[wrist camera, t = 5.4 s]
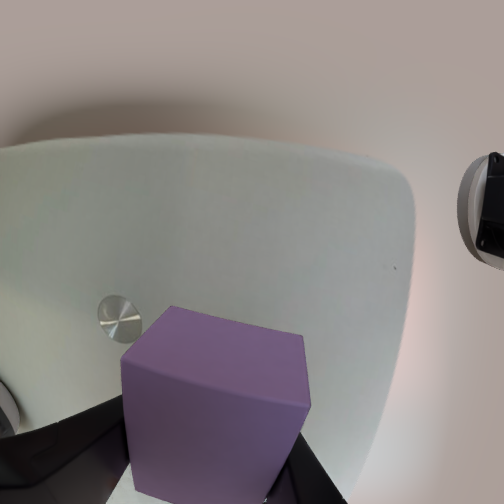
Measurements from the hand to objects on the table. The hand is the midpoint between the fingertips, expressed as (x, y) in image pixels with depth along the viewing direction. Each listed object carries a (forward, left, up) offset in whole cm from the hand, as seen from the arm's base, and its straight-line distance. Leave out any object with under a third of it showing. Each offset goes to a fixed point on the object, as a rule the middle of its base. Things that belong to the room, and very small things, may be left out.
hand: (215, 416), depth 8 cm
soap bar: (0, 0, -1) cm, 1 cm away
